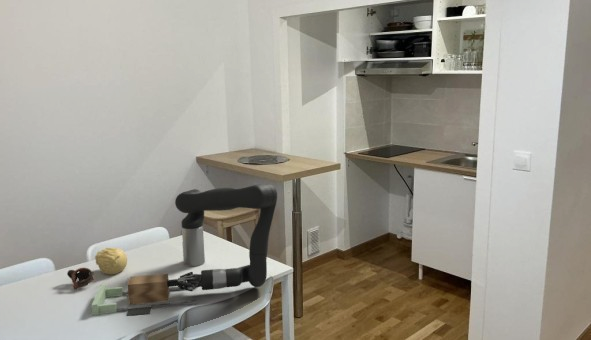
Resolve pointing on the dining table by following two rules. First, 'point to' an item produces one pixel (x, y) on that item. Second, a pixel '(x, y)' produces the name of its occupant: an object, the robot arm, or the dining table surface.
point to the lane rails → (162, 303)
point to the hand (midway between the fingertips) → (167, 283)
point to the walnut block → (148, 289)
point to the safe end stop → (100, 298)
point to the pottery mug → (81, 277)
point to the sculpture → (111, 260)
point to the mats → (138, 311)
